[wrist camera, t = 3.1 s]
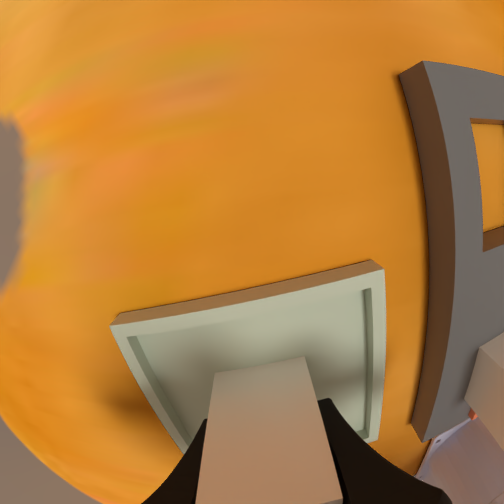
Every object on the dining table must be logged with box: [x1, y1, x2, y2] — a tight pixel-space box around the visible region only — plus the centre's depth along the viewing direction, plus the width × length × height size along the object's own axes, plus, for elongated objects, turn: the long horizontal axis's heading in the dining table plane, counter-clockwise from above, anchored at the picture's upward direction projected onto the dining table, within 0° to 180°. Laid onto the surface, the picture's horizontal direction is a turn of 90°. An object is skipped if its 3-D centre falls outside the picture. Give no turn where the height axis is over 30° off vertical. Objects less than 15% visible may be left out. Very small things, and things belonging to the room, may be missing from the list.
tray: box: [109, 260, 386, 454], centre depth 12 cm, size 11×11×1 cm
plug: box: [195, 356, 343, 504], centre depth 8 cm, size 4×4×9 cm
